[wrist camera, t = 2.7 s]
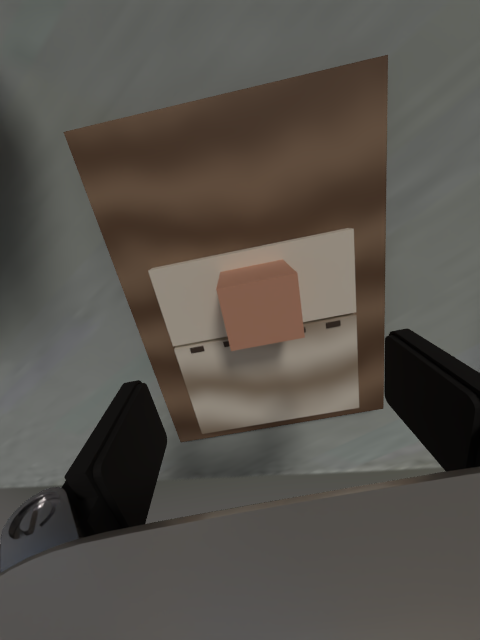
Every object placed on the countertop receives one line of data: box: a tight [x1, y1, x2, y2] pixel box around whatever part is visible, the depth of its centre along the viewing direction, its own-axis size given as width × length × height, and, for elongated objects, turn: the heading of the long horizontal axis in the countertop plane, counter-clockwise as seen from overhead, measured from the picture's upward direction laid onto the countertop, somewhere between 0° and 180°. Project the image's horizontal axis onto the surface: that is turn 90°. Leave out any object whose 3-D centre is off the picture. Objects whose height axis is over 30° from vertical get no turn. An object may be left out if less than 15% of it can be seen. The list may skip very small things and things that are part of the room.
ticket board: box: [64, 55, 388, 442], centre depth 23 cm, size 29×22×3 cm
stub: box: [148, 228, 356, 351], centre depth 20 cm, size 7×16×6 cm, turn 101°
